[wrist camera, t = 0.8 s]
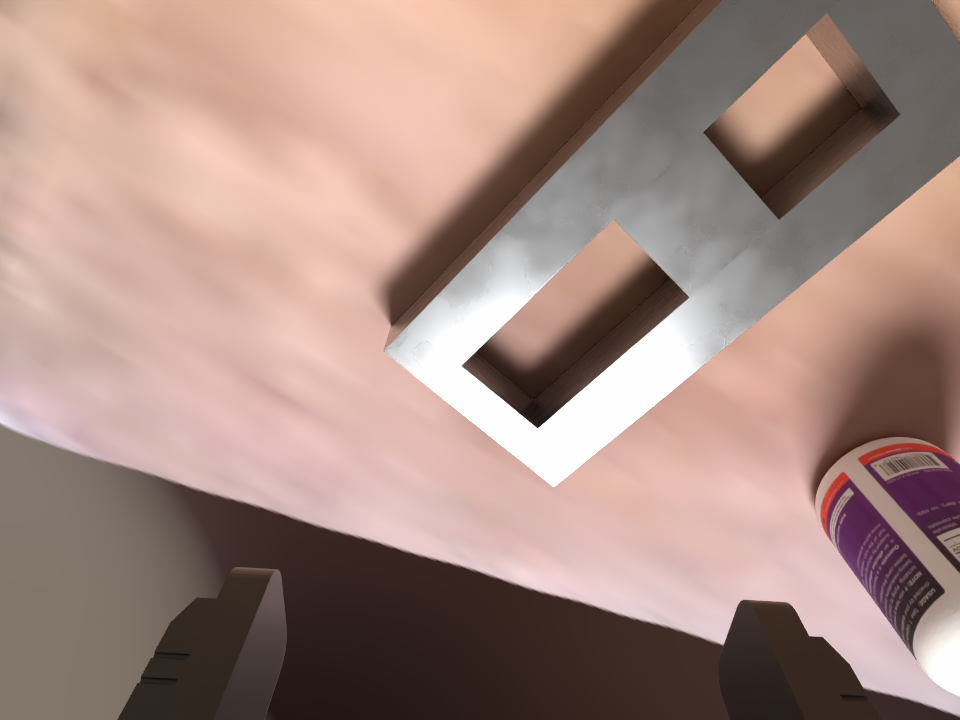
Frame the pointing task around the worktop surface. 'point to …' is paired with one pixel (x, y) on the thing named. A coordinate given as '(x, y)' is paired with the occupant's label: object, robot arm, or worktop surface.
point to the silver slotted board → (688, 214)
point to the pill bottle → (902, 542)
